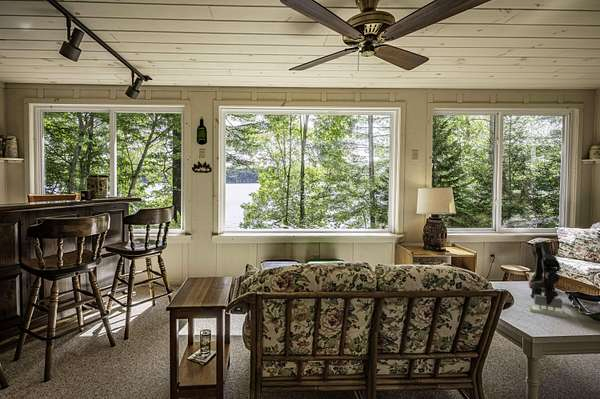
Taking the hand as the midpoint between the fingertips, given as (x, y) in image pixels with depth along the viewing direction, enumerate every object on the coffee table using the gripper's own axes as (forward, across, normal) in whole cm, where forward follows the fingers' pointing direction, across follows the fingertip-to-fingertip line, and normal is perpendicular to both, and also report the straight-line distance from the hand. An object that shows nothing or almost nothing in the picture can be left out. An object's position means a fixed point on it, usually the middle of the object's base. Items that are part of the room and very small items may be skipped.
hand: (547, 303), depth 198 cm
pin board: (+6, 0, 0) cm, 6 cm away
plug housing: (+1, 0, 0) cm, 1 cm away
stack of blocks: (+6, -57, +4) cm, 57 cm away
